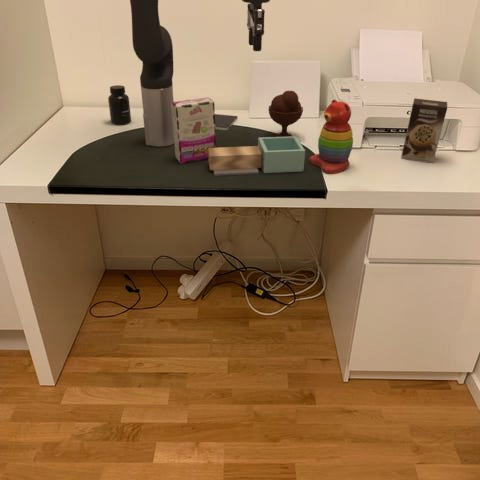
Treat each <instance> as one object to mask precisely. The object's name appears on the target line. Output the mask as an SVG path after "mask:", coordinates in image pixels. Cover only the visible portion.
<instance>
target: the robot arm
mask: <svg viewBox="0 0 480 480" xmlns="http://www.w3.org/2000/svg"><path fill="white" fill-rule="evenodd" d="M241 1H242V2H243V3H246V4H247V5H246V6H247V7H246V8H247V12H246V14H247V19H246V22H247V23H246V27H247V30H248V45H250V46H252V50H253V52H261V51H262V45H263V44H262V42H263V41H262V40H263V36H264V34H265V12H266V11H265V9H264V8H263V6H262V5H263V4H267V3H270V0H241ZM129 2H130V9H131V11H130V13H131V32H132V48H133V51H134V53H135V55H136V57H137V58H138V60H140V61H141V63H142V70H141V74H140V76H139V81H140V90H141V91H140V92H141V100H142V111H143V113H142V117H143V128H144V136H145V137H144V138H145V145H146V146H152V147H159V148H160V147H168V146H172V145H175V143H174V132H173V119H172V108H171V102H175V101H174V89H173V88H174V87H173V85H174V84H173V78H174V77H173V76H174V47H173V40H172V36H171V34H170V32H169V31H168V30H167V29H166V27H164V26H162V25H161V23H160V15H159V0H129Z"/></svg>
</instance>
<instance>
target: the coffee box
mask: <svg viewBox="0 0 480 480" xmlns="http://www.w3.org/2000/svg"><path fill="white" fill-rule="evenodd" d="M447 111H448V101H440V100H432V99H431V100H430V99H425V98H416V97H415V98H413V102H412V107H411V111H410V117H409V121H408V125H407V130H406V134H405V138H404V142H403V146H402V150H401V151H402V152H401V157H400V158H401V159H405V160H411V161H416V162H417V161H419V162H426V163H434V161H435V157H436V152H437V150H438V145H439V141H440V138H441V134H442V130H443V127H444V126H443V125H444V122H445V119H446V114H447Z"/></svg>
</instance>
